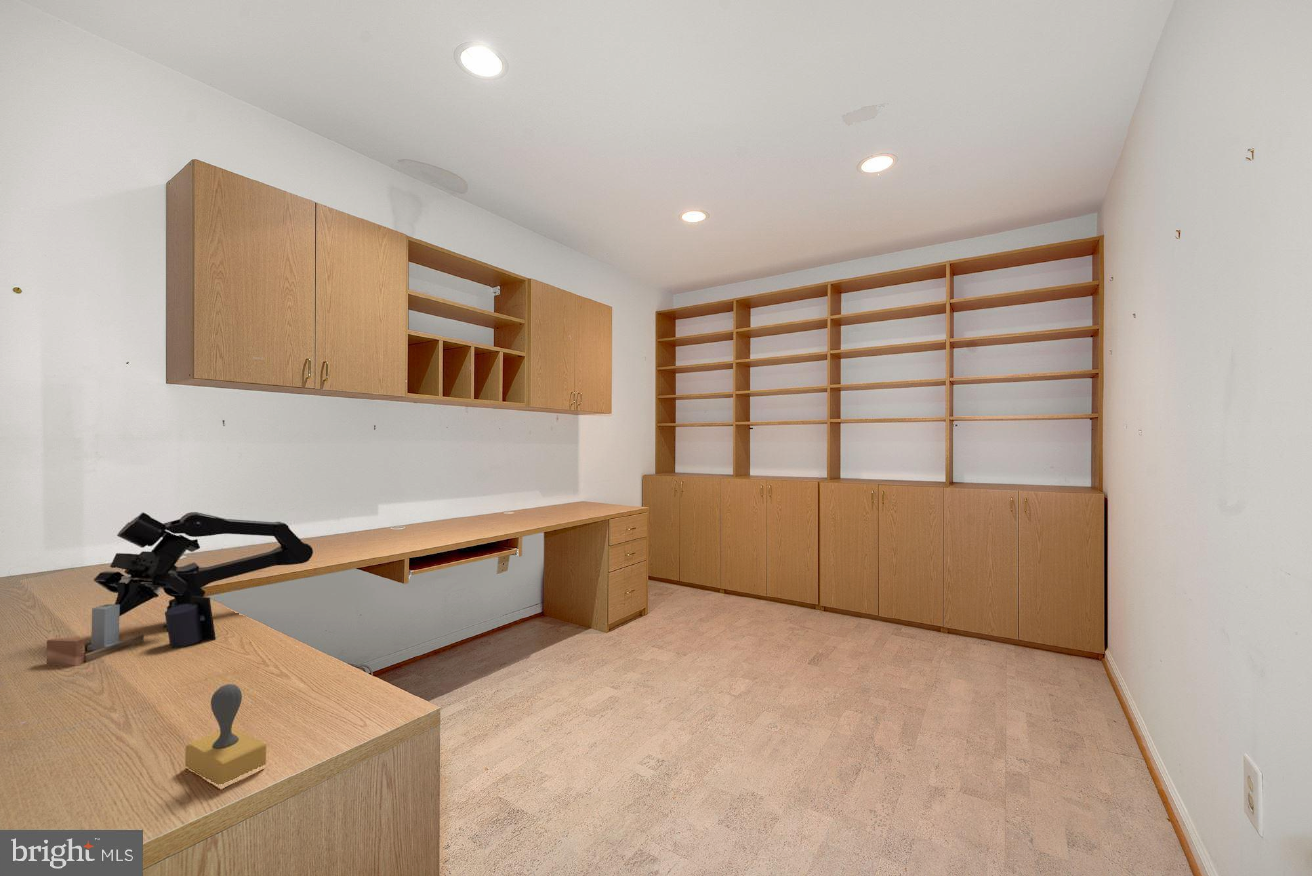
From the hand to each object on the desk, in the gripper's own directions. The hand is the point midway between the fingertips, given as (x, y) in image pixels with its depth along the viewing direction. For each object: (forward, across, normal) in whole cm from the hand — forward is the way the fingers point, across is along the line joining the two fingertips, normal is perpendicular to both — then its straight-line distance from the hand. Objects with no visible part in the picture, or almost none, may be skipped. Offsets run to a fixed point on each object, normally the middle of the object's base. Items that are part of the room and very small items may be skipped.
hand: (113, 616), depth 119 cm
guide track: (+8, 0, +2) cm, 8 cm away
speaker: (+2, +15, +7) cm, 17 cm away
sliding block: (+6, 0, +3) cm, 7 cm away
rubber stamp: (+32, +64, -22) cm, 75 cm away
